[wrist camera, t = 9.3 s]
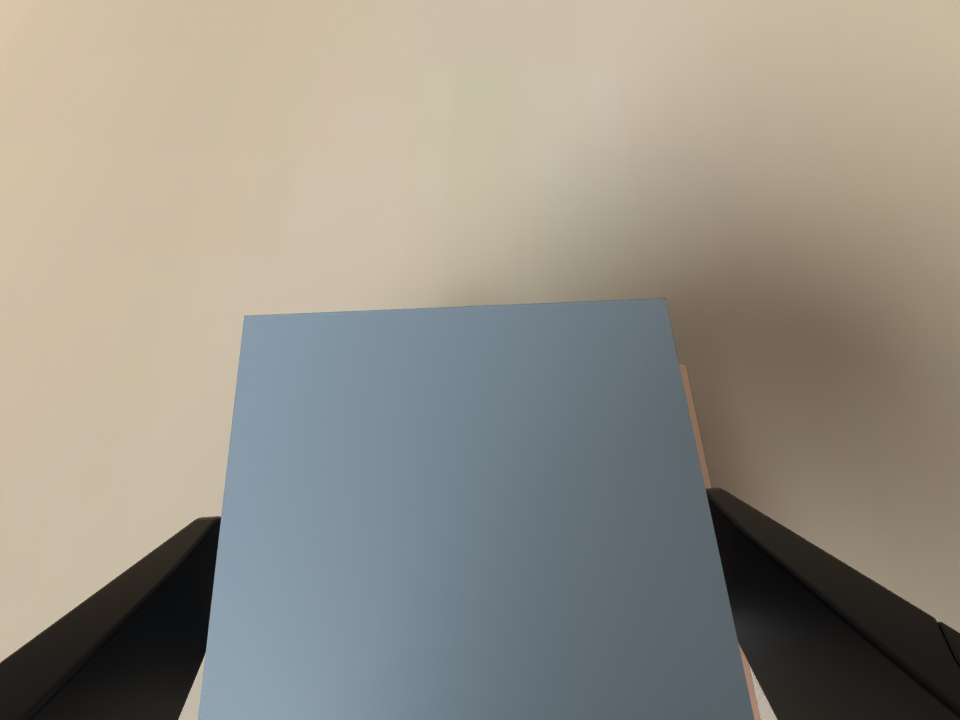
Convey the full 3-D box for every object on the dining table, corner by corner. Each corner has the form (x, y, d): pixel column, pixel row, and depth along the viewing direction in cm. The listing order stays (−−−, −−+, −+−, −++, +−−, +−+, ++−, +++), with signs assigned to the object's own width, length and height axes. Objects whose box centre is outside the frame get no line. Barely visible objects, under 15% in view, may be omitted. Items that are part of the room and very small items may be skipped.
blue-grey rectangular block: (535, 619, 15) (829, 1033, 3) (405, 629, 14) (142, 1120, 3) (520, 456, 16) (669, 293, 5) (404, 463, 16) (239, 311, 4)
